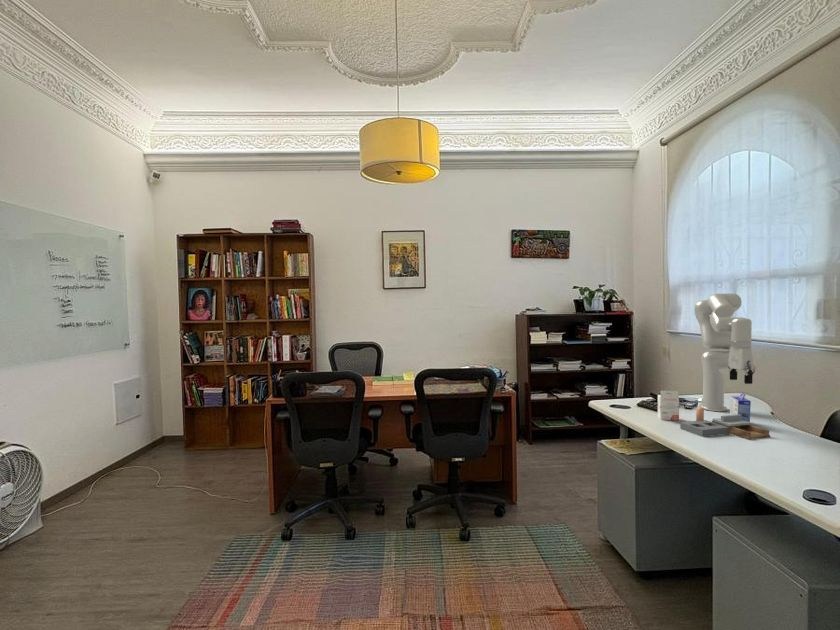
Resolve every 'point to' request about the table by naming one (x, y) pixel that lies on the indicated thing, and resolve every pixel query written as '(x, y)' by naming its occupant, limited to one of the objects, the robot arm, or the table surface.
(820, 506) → the table surface
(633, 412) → the table surface
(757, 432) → the box
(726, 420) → the lid
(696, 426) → the socket board
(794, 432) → the table surface
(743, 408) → the ink cartridge box
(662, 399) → the ink cartridge box
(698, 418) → the peg
